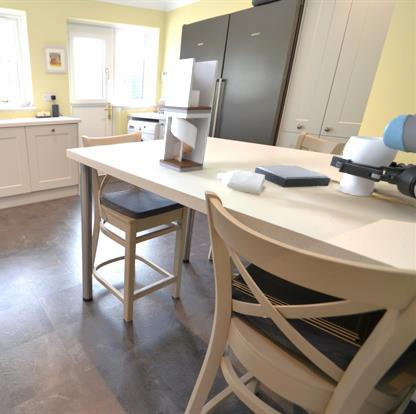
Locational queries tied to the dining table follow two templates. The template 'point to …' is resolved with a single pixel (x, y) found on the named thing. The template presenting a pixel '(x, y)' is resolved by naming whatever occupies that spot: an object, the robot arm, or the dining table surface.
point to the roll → (243, 181)
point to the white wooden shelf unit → (188, 113)
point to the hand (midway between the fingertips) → (353, 161)
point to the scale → (292, 176)
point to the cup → (365, 162)
